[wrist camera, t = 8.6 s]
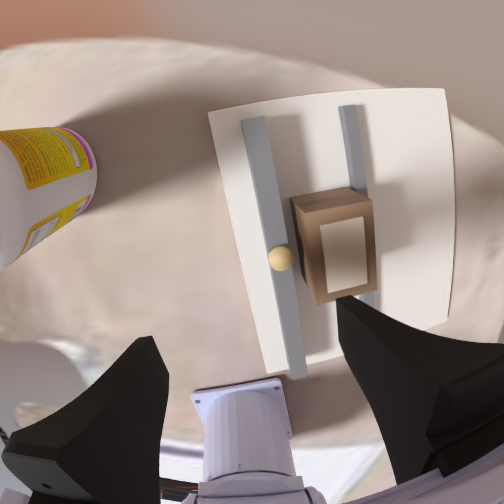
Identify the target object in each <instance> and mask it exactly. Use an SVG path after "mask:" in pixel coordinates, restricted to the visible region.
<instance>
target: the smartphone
mask: <svg viewBox="0 0 504 504" xmlns="http://www.w3.org/2000/svg"><path fill="white" fill-rule="evenodd" d="M159 487H160V499H165V500H171V501H177V502H182V501H183V500H184V499H186V498H187V496H188V495H189V494H198V484H197V483H190V482H183V481H177V480H171V479H167V478H161V477H159Z"/></svg>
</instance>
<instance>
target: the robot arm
mask: <svg viewBox="0 0 504 504" xmlns="http://www.w3.org/2000/svg"><path fill="white" fill-rule="evenodd" d="M336 312H337V326H338V341H339V343H340V346H341V349H342V351H343V354H344V356H345V359H346V361H347V363H348V365H349V367H350V369H351V371H352V372H353V374H354V376H355V378H356V380H357V382H358V383H359V385H360V387H361V389H362V391H363V393H364V394H365V396H366V398H367V400H368V402H369V404H370V406H371V408H372V410H373V413H374V415H375V418H376V421H377V423H378V426H379V429H380V431H381V434H382V437H383V440H384V443H385V446H386V449H387V452H388V455H389V458H390V462H391V465H392V468H393V472H394V475H395V479H396V483H397V486H394V487H392V488H389V489H386V490H384V491H381V492H378V493H375V494H372V495H369V496H366V497H363V498H360V499H356V500H353V501H350V502H346V503H343V504H504V344H500V343H477V342H469V341H462V340H456V339H451V338H447V337H442V336H438V335H435V334H431V333H428V332H425V331H422V330H419V329H416V328H414V327H411V326H409V325H406V324H404V323H402V322H400V321H398V320H395V319H393V318H391V317H389V316H387V315H386V314H384V313H382V312H380V311H378V310H376V309H375V308H373V307H371V306H369V305H368V304H366V303H364V302H362V301H361V300H359V299H357V298H356V297H354V296H352V295H348V296H344V297H340V298H336ZM276 386H278V387H276ZM168 394H169V372H168V370H167V368H166V366H165V364H164V362H163V359H162V357H161V355H160V353H159V351H158V348H157V346H156V344H155V341H154V339H153V337H152V336H147V337H140V338H138V339H136V340H135V341H134V342H133V343H132V344H131V345H130V346H129V347H128V348H127V349H126V351H125V352H124V353H123V354H122V355H121V356H120V357H119V358H118V359H117V360H116V361H115V362H114V363H113V365H112V366H111V367H110V368H109V369H108V370H107V371H106V372H105V373H104V374H103V375H102V376H101V377H100V378H99V379H98V380H97V381H96V382H95V383H94V384H92V385H91V386H90V387H89V388H88V389H87V390H86V391H84V392H83V393H82V394H81V395H80V396H78V397H77V398H76V399H74V400H73V401H72V402H70V403H69V404H67V405H66V406H64V407H63V408H61V409H60V410H58V411H57V412H55V413H53V414H52V415H50V416H48V417H46V418H44V419H42V420H41V421H39V422H37V423H34V424H32V425H30V426H28V427H25V428H23V429H20V430H18V431H15V432H13V433H12V434H11V436H10V438H9V440H8V442H7V444H6V446H5V449H4V451H3V453H2V456H1V457H2V460H3V462H4V464H5V465H6V467H7V468H8V469H9V470H10V471H11V472H12V473H13V474H14V475H15V476H16V477H17V478H18V479H19V480H20V481H22V482H23V483H24V484H25V485H26V486H28V488H30V489H31V490H32V491H33V493H32V496H31V497H29V496H28V495H26V494H23V493H21V492H18V491H15V490H11V489H8V488H4V491H3V493H2V496H1V499H0V504H161V502H160V487H159V454H160V441H161V435H162V429H163V423H164V418H165V412H166V407H167V401H168ZM191 400H192V402H193V404H194V406H195V408H196V410H197V412H198V414H199V416H200V418H201V420H202V422H203V424H204V426H205V431H204V464H203V482H199V483H198V494H189V495H188V496H187V498H186V499H184V500H183V501H182V503H181V504H327V503H326V500H325V498H324V496H323V495H322V494H321V493H320V492H319V491H317V490H316V489H315V488H314V487H312V486H310V487H305V488H304V484H303V480H302V476H296V472H295V467H294V463H293V458H292V453H291V448H290V443H289V440H290V439H292V438H293V435H292V430H291V426H290V421H289V416H288V411H287V406H286V402H285V397H284V392H283V387H282V382H281V379H279V378H271V379H267V380H261V381H256V382H251V383H246V384H240V385H234V386H228V387H222V388H216V389H209V390H202V391H195V392H192V393H191Z"/></svg>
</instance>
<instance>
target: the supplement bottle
mask: <svg viewBox="0 0 504 504" xmlns="http://www.w3.org/2000/svg"><path fill="white" fill-rule="evenodd" d="M96 184H97V165H96V160H95V157H94V154H93V152H92V149H91V148H90V146H89V144H88V143H87V142H86V140H85V139H84V138H83V137H82V136H80V135H79V134H78V133H76V132H75V131H73V130H70V129H67V128H62V127H45V128H30V129H18V130H7V131H0V271H1V270H3V269H4V268H6V267H7V266H8V265H10V264H11V263H13V262H14V261H15V260H16V259H18V258H19V257H20V256H22V255H23V254H24V253H26V252H27V251H28V250H30V249H31V248H32V247H34V246H35V245H37V244H38V243H39V242H41V241H42V240H44V239H45V238H47V237H48V236H49V235H51V234H52V233H54V232H55V231H57V230H58V229H60V228H61V227H63V226H64V225H66V224H67V223H69V222H70V221H72V220H73V219H74V218H76V217H77V216H78V215H80V214H81V213H82V212H83V211H84V210H85V209H86V207H87V206H88V204H89V203H90V201H91V199H92V197H93V195H94V192H95V188H96Z"/></svg>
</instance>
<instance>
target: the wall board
mask: <svg viewBox="0 0 504 504" xmlns="http://www.w3.org/2000/svg"><path fill="white" fill-rule="evenodd" d="M207 113H208V118H209V122H210V127H211V132H212V136H213V141H214V145H215V150H216V154H217V159H218V164H219V168H220V173H221V177H222V182H223V186H224V191H225V195H226V199H227V204H228V208H229V213H230V217H231V222H232V226H233V230H234V235H235V239H236V244H237V248H238V252H239V257H240V261H241V265H242V270H243V274H244V278H245V283H246V287H247V291H248V295H249V300H250V304H251V308H252V312H253V317H254V321H255V325H256V329H257V333H258V338H259V342H260V346H261V350H262V354H263V358H264V363H265V367H266V371H267V374H268V373H273V372H277V371H282V370H286V369H290V373H291V377H292V380H295V379H300V378H304V377H308V372H307V365H308V364H312V363H316V362H320V361H324V360H328V359H332V358H336V357H339V356H343V355H344V354H343V351H342V349H341V346H340V343H339V341H338V326H337V312H336V301H333V302H329V303H325V304H321V305H317V304H316V302H315V300H314V298H313V296H312V294H311V292H310V290H309V288H308V286H307V284H306V282H305V281H304V279H303V277H302V274H301V267H300V260H299V254H298V247H297V241H296V235H295V228H294V222H293V216H292V210H291V204H290V199H289V197H293V196H298V195H304V194H309V193H314V192H319V191H325V190H330V189H336V188H341V187H347V188H349V189H351V190H353V191H355V192H357V193H359V194H361V195H363V196H365V197H367V198H369V199H371V200H372V204H373V216H374V229H375V246H376V269H377V290H375V291H372V292H368V293H364V294H360V295H357V296H354V297H356V298H357V299H359V300H361V301H362V302H364V303H366V304H368V305H369V306H371V307H373V308H375V309H376V310H378V311H380V312H382V313H384V314H386V315H387V316H389V317H391V318H393V319H395V320H398V321H400V322H402V323H404V324H406V325H409V326H411V327H414V328H416V329H419V330H425V329H428V328H430V327H433V326H436V325H438V324H441V323H444V322H446V321H447V315H448V307H449V300H450V291H451V281H452V270H453V255H454V233H455V189H454V167H453V153H452V141H451V132H450V123H449V116H448V109H447V102H446V96H445V90H444V89H440V88H389V89H367V90H351V91H339V92H328V93H319V94H310V95H302V96H294V97H287V98H280V99H274V100H268V101H262V102H256V103H250V104H245V105H240V106H235V107H230V108H225V109H220V110H216V111H211V112H207Z"/></svg>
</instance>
